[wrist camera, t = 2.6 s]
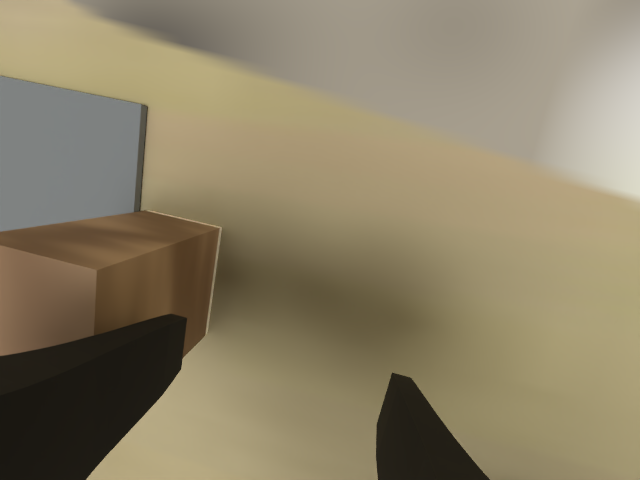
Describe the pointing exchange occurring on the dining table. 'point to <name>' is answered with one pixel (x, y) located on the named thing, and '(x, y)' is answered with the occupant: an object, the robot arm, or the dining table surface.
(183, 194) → the dining table surface
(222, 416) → the dining table surface
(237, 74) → the dining table surface
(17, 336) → the walnut block
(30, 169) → the mat
